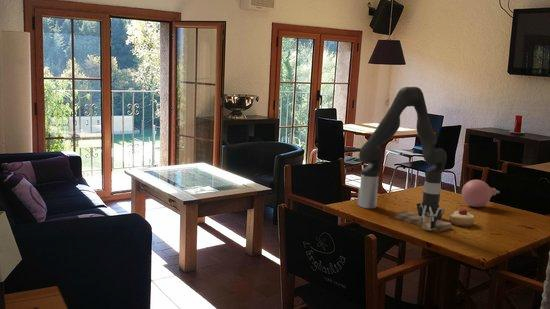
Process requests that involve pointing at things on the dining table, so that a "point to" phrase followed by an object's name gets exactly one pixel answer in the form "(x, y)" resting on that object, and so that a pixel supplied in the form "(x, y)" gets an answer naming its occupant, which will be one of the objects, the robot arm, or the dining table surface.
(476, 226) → the dining table surface
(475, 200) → the balloon
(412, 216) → the board
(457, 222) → the pastry
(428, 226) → the beige cube mallet
